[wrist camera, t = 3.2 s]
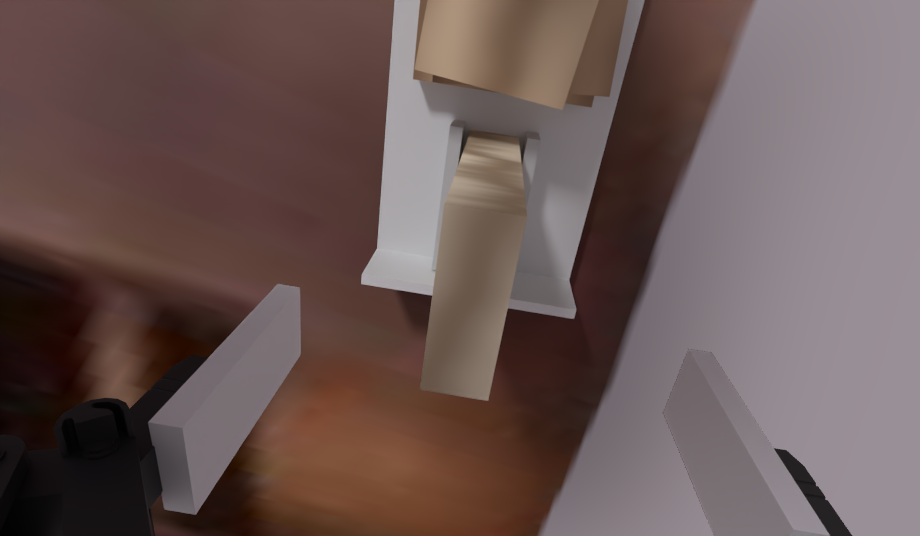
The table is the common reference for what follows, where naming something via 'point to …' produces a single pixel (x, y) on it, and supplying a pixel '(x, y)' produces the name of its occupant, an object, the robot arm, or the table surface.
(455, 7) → the offcut top
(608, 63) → the offcut middle
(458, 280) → the tan wooden block
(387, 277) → the rack
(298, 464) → the table surface
